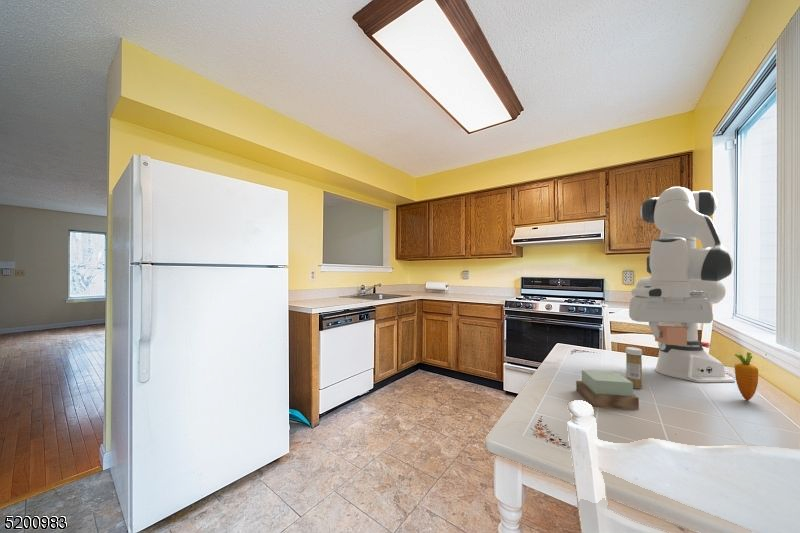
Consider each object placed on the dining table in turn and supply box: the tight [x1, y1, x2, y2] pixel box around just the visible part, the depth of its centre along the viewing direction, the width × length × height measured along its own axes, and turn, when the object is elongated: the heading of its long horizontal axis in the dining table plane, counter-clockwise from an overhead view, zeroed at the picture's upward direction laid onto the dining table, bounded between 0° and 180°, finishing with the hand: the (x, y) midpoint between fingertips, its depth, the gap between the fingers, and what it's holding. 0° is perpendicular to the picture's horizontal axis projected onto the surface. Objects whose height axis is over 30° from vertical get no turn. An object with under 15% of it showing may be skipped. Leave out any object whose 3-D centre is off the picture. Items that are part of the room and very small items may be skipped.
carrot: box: [734, 351, 759, 401], centre depth 92 cm, size 5×5×15 cm
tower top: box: [581, 369, 634, 396], centre depth 92 cm, size 10×10×4 cm
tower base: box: [575, 380, 640, 411], centre depth 92 cm, size 12×12×4 cm
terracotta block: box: [654, 325, 687, 345], centre depth 87 cm, size 5×5×5 cm
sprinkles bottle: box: [625, 346, 644, 390], centre depth 103 cm, size 5×5×13 cm
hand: (670, 337), depth 87 cm, fingers closed on terracotta block, 5 cm apart
